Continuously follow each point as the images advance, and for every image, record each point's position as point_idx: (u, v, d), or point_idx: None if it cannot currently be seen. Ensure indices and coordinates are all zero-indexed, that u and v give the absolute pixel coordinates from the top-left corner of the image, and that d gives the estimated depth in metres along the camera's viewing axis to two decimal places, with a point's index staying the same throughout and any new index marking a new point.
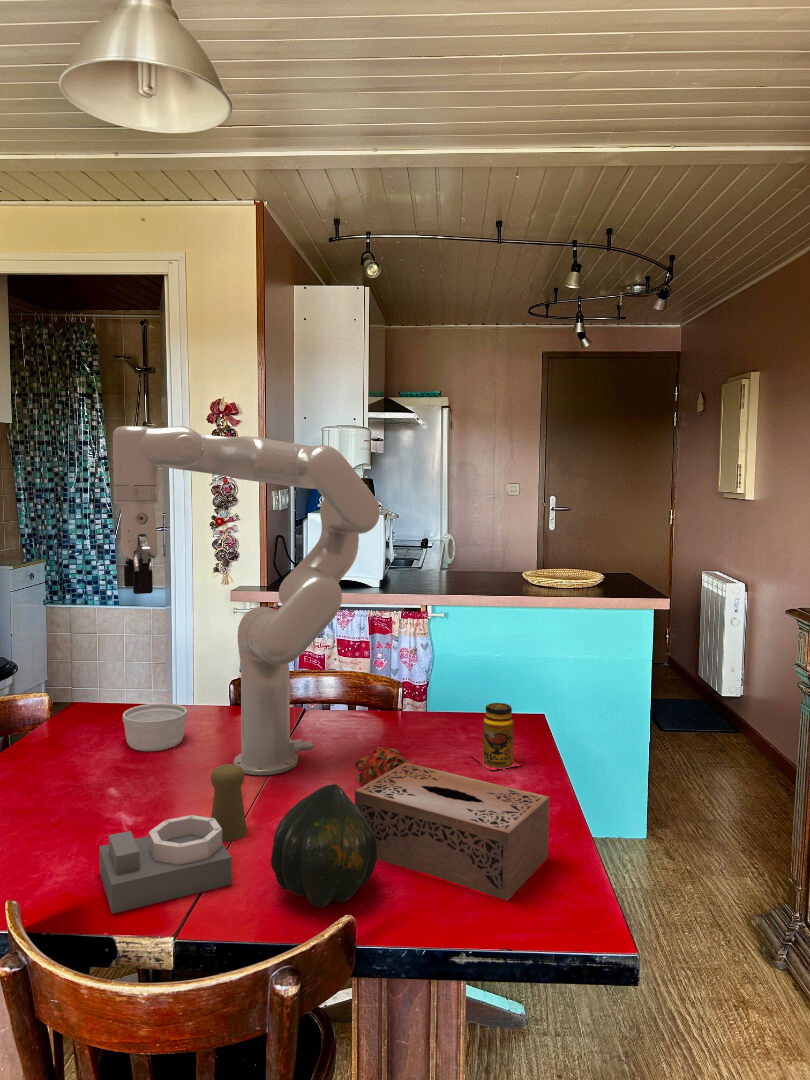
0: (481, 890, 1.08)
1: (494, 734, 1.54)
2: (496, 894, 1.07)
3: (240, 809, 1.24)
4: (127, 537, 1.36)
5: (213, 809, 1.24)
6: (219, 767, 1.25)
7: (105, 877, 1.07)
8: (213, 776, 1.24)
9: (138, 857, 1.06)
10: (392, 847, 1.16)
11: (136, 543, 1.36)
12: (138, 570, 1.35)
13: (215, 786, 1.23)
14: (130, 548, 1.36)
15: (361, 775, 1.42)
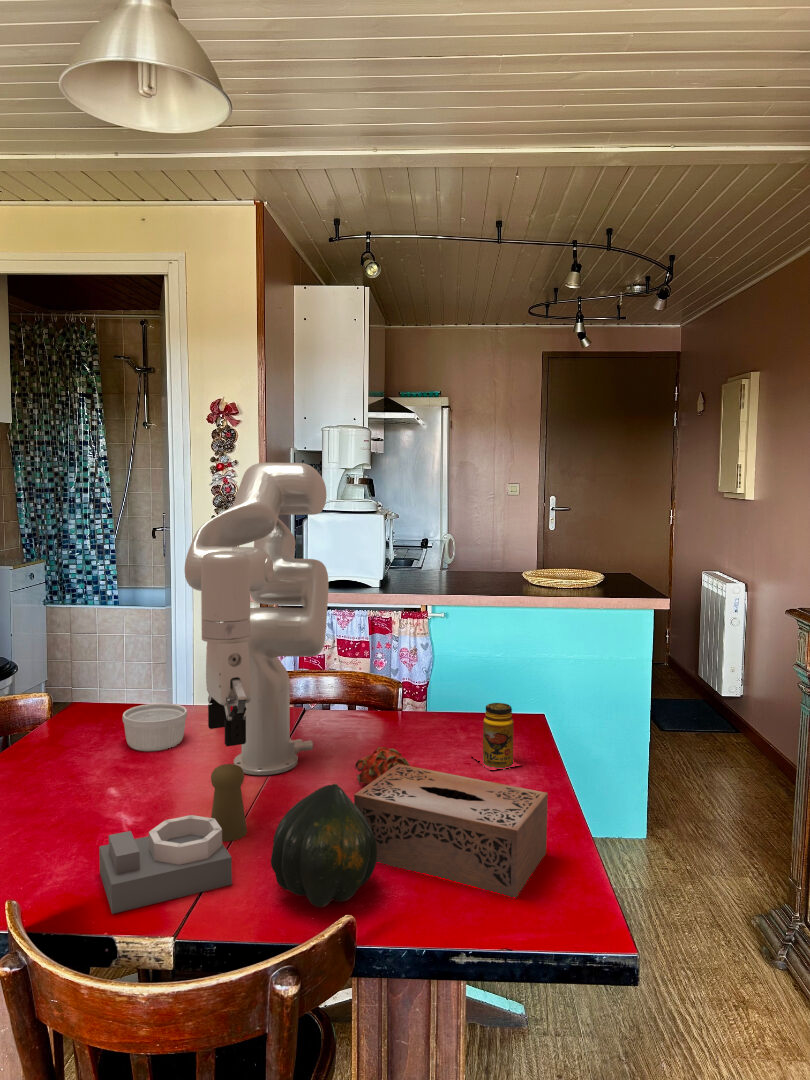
0: (488, 888, 1.09)
1: (494, 734, 1.54)
2: (504, 892, 1.08)
3: (240, 809, 1.24)
4: (218, 681, 1.19)
5: (213, 809, 1.24)
6: (219, 767, 1.25)
7: (105, 877, 1.07)
8: (213, 776, 1.24)
9: (138, 857, 1.06)
10: (394, 850, 1.15)
11: (229, 688, 1.19)
12: (231, 720, 1.18)
13: (215, 786, 1.23)
14: (222, 694, 1.19)
15: (361, 775, 1.42)
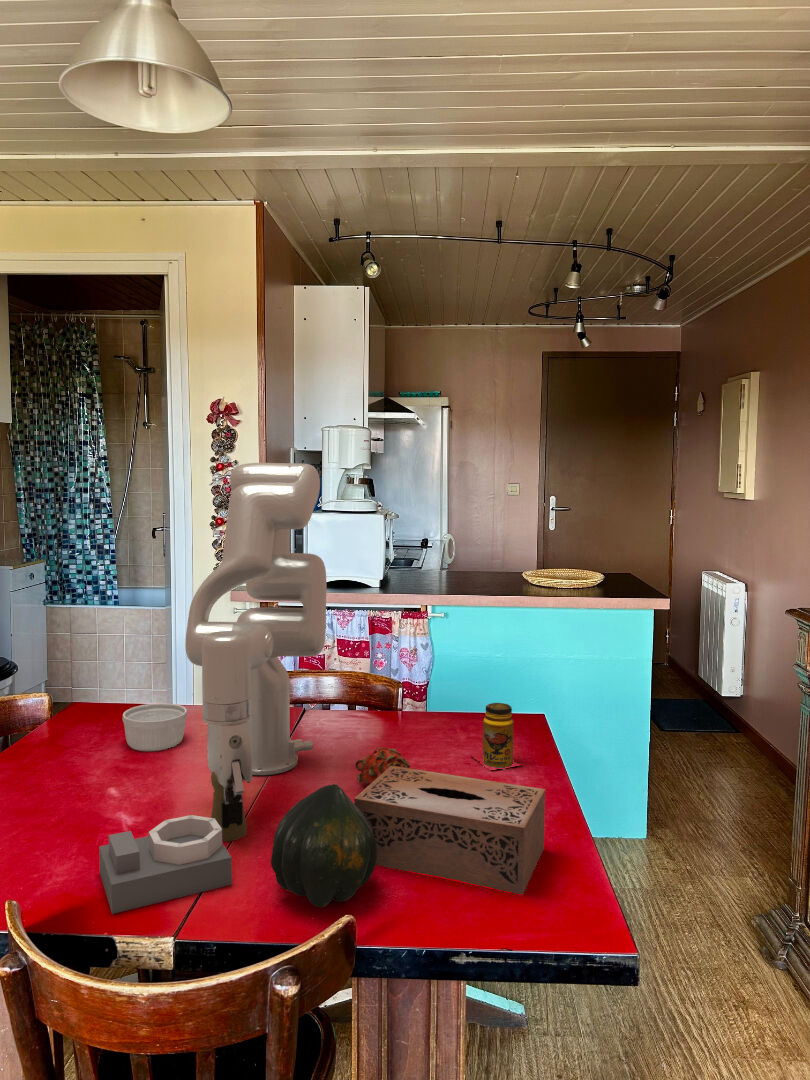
0: (495, 887, 1.09)
1: (494, 734, 1.54)
2: (511, 889, 1.08)
3: None
4: (219, 762, 1.21)
5: (213, 809, 1.24)
6: None
7: (105, 877, 1.07)
8: (213, 776, 1.23)
9: (138, 857, 1.06)
10: (396, 852, 1.15)
11: (230, 770, 1.20)
12: (228, 803, 1.22)
13: (215, 786, 1.23)
14: (223, 776, 1.20)
15: (361, 775, 1.42)
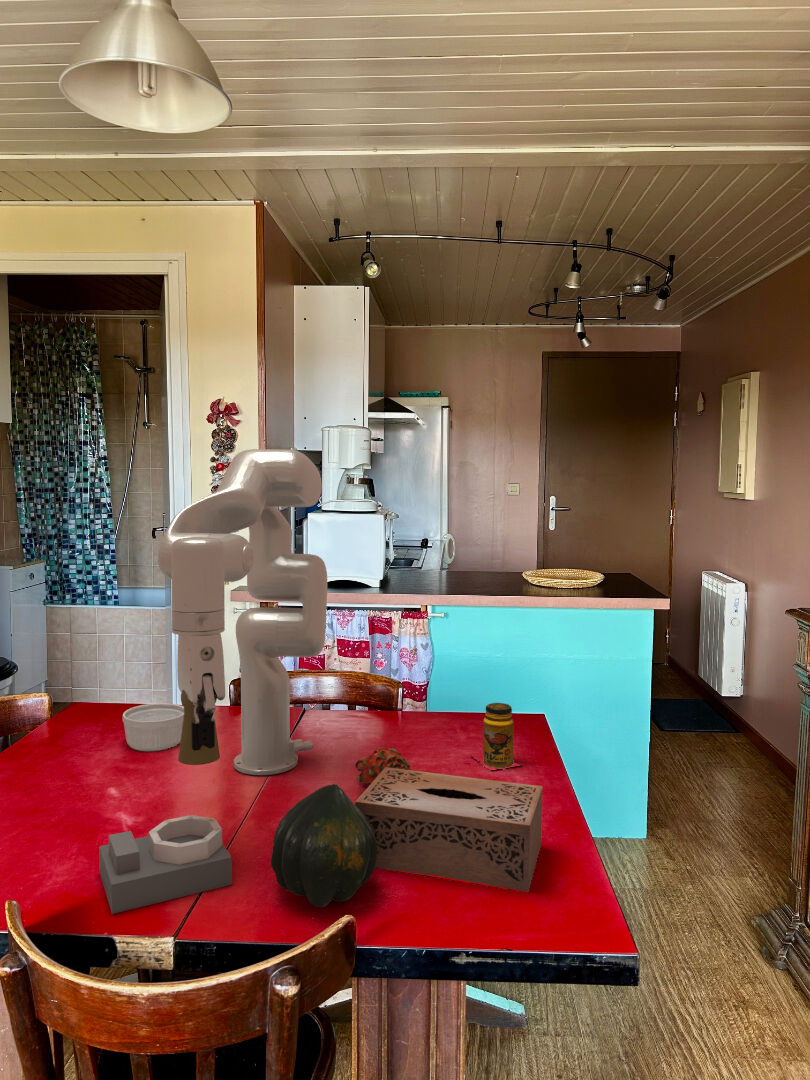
0: (500, 885, 1.10)
1: (494, 734, 1.54)
2: (516, 887, 1.09)
3: None
4: (189, 676, 1.10)
5: (183, 730, 1.14)
6: None
7: (105, 877, 1.07)
8: (183, 694, 1.13)
9: (138, 857, 1.06)
10: (398, 855, 1.14)
11: (200, 685, 1.10)
12: (198, 722, 1.12)
13: (185, 704, 1.13)
14: (193, 691, 1.10)
15: (361, 775, 1.42)
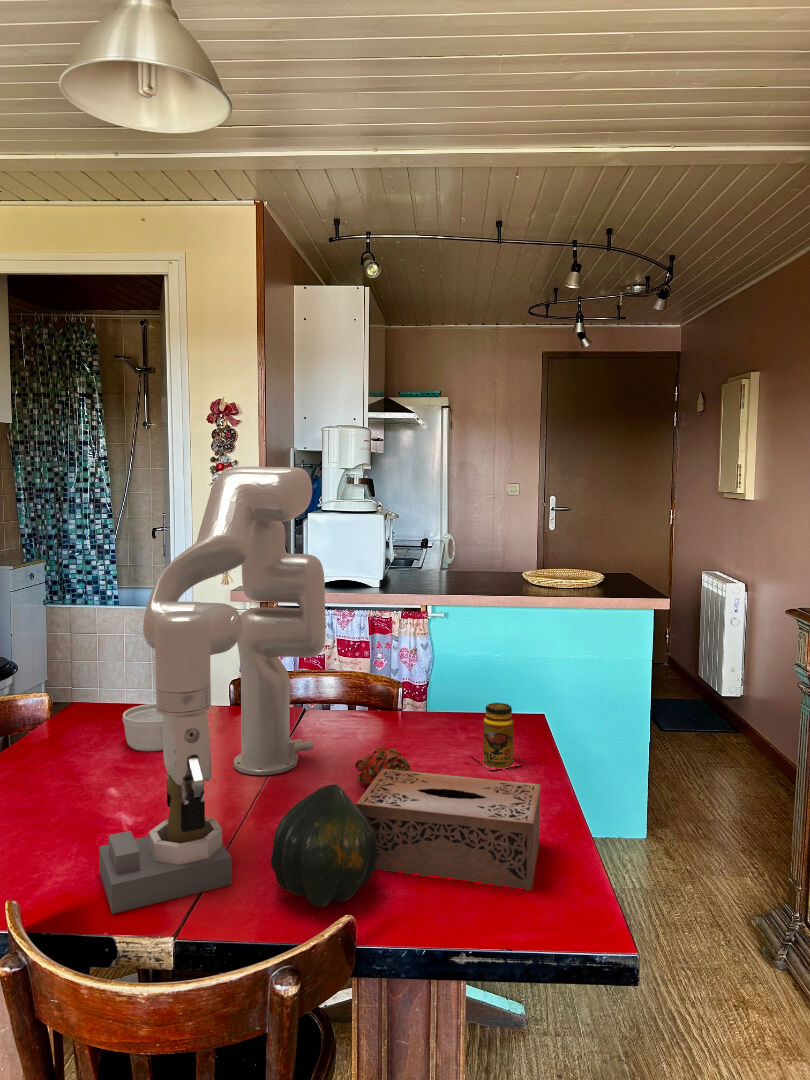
0: (503, 884, 1.10)
1: (494, 734, 1.54)
2: (519, 885, 1.09)
3: None
4: (173, 758, 1.07)
5: (169, 820, 1.11)
6: None
7: (105, 877, 1.07)
8: (169, 783, 1.10)
9: (138, 857, 1.06)
10: (400, 856, 1.13)
11: (185, 767, 1.07)
12: (187, 804, 1.06)
13: (171, 794, 1.10)
14: (178, 774, 1.06)
15: (361, 775, 1.42)
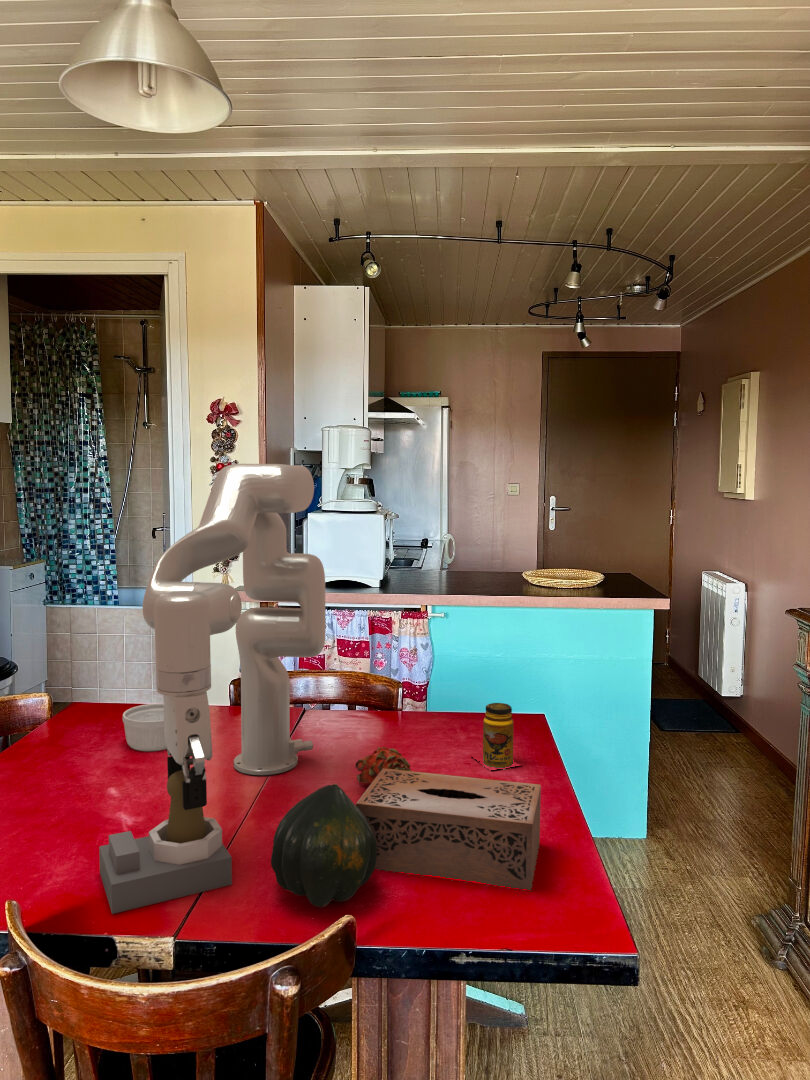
0: (502, 884, 1.10)
1: (494, 734, 1.54)
2: (519, 885, 1.09)
3: (199, 820, 1.11)
4: (174, 738, 1.07)
5: (169, 820, 1.11)
6: (176, 773, 1.12)
7: (105, 877, 1.07)
8: (169, 783, 1.10)
9: (138, 857, 1.06)
10: (400, 856, 1.14)
11: (186, 747, 1.07)
12: (189, 782, 1.06)
13: (171, 794, 1.10)
14: (178, 753, 1.07)
15: (361, 775, 1.42)
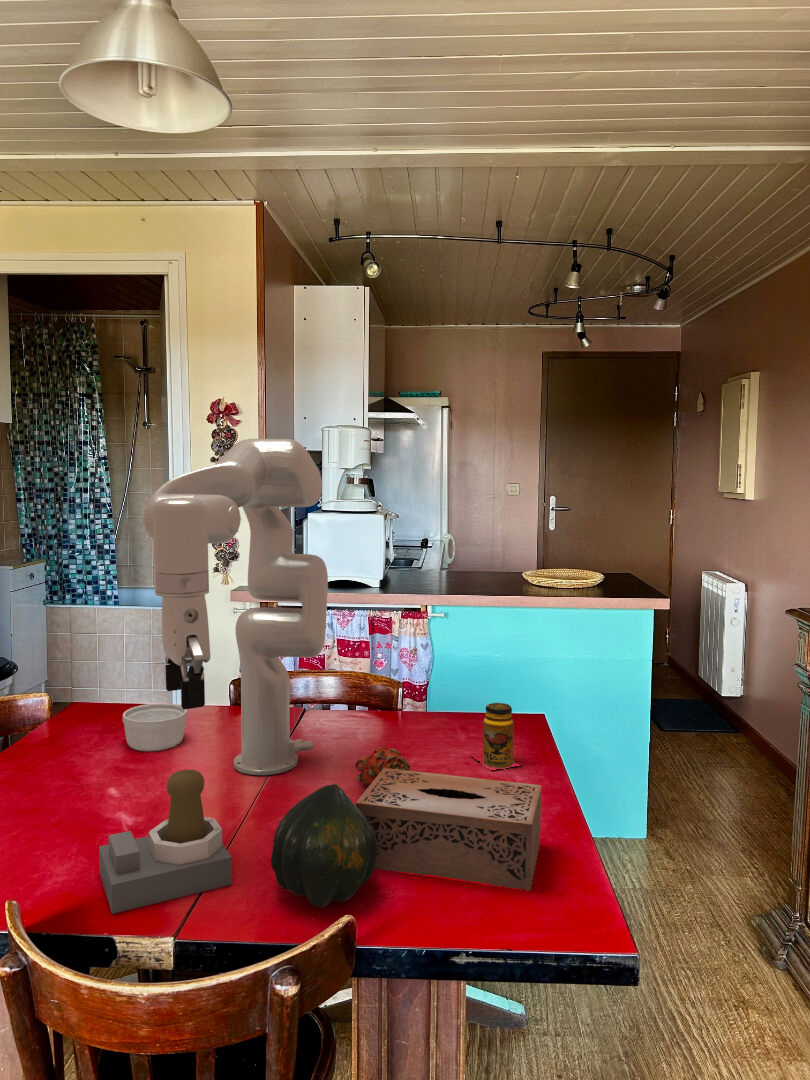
0: (502, 884, 1.10)
1: (494, 734, 1.54)
2: (518, 886, 1.09)
3: (199, 820, 1.11)
4: (173, 639, 1.09)
5: (169, 820, 1.11)
6: (176, 773, 1.12)
7: (105, 877, 1.07)
8: (169, 783, 1.10)
9: (138, 857, 1.06)
10: (400, 855, 1.14)
11: (185, 647, 1.09)
12: (188, 681, 1.08)
13: (171, 794, 1.10)
14: (177, 653, 1.09)
15: (361, 775, 1.42)
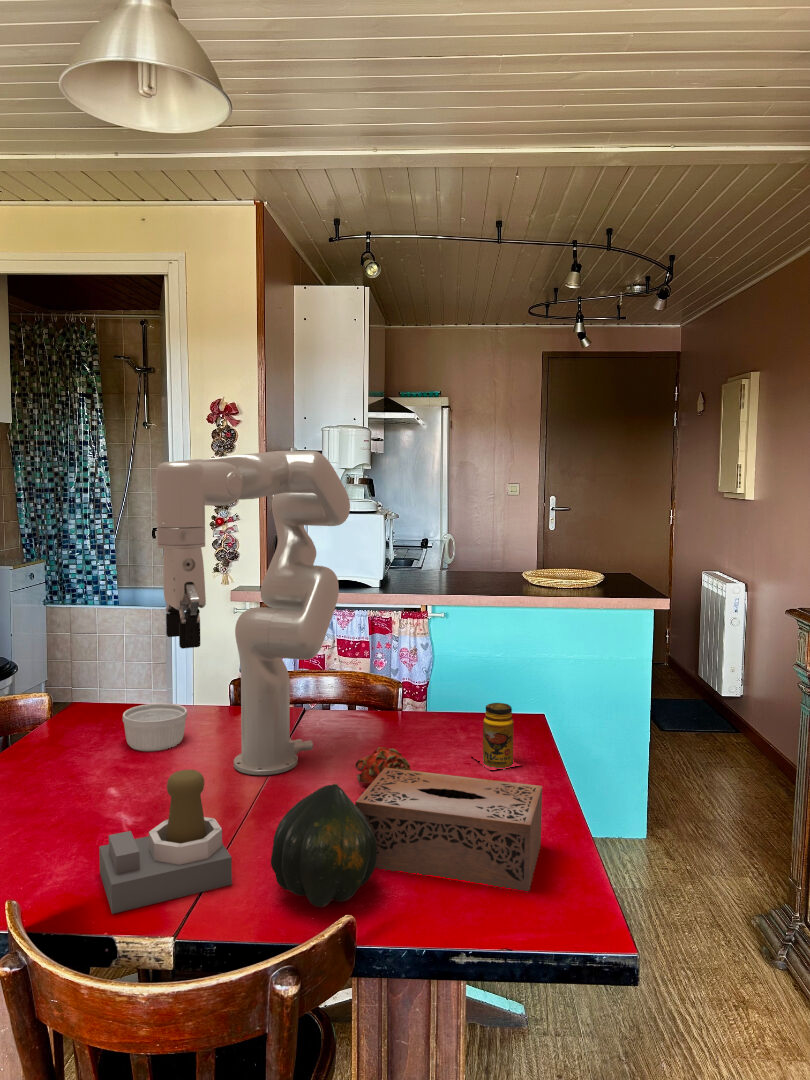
0: (500, 885, 1.10)
1: (494, 734, 1.54)
2: (517, 886, 1.09)
3: (199, 820, 1.11)
4: (172, 585, 1.23)
5: (169, 820, 1.11)
6: (176, 773, 1.12)
7: (105, 877, 1.07)
8: (169, 783, 1.10)
9: (138, 857, 1.06)
10: (399, 855, 1.14)
11: (183, 592, 1.22)
12: (185, 622, 1.22)
13: (171, 794, 1.10)
14: (176, 598, 1.22)
15: (361, 775, 1.42)
